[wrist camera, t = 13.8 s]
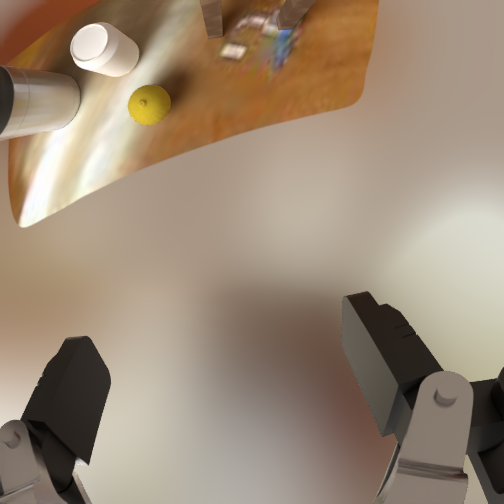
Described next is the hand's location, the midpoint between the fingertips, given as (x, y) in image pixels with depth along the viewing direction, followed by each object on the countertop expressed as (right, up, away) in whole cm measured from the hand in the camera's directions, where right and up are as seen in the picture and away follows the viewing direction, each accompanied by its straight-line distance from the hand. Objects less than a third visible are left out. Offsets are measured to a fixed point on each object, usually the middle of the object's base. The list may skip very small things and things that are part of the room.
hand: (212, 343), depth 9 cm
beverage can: (-18, +31, +26) cm, 44 cm away
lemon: (-12, +24, +30) cm, 40 cm away
